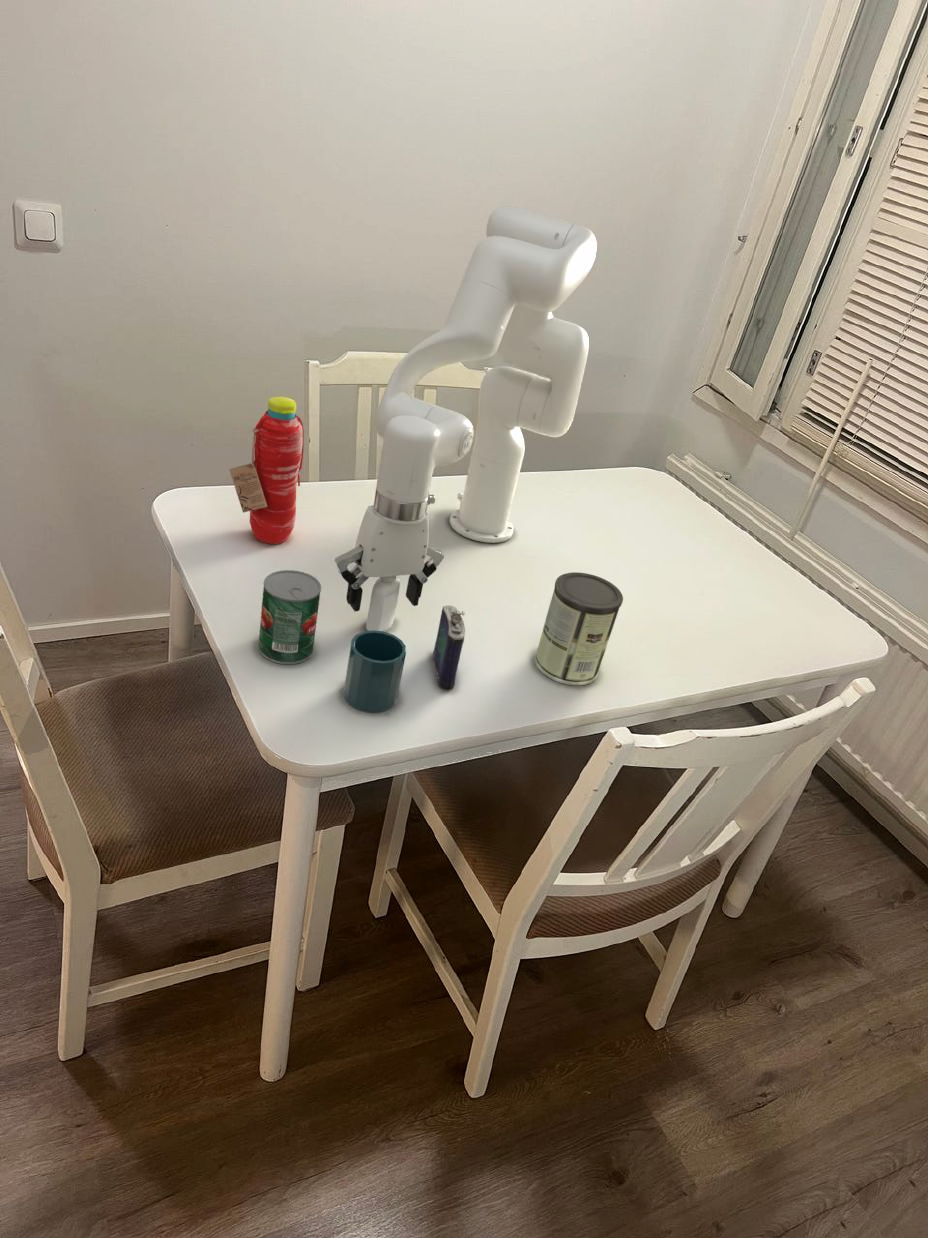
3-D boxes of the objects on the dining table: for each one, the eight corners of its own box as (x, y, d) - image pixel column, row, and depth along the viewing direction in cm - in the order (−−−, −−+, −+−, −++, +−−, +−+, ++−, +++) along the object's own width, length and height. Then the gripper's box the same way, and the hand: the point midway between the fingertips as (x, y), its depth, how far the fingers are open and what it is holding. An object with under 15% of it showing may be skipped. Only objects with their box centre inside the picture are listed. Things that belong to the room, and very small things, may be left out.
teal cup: (336, 683, 125) (343, 633, 120) (384, 676, 128) (393, 627, 124) (354, 716, 120) (363, 666, 115) (404, 708, 123) (414, 659, 119)
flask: (431, 652, 136) (443, 593, 130) (449, 653, 136) (463, 594, 130) (437, 690, 128) (451, 629, 122) (457, 691, 129) (472, 630, 123)
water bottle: (241, 554, 149) (250, 411, 136) (220, 532, 154) (228, 392, 140) (305, 544, 156) (320, 407, 143) (284, 523, 161) (296, 389, 147)
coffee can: (561, 639, 146) (583, 565, 138) (610, 672, 140) (636, 597, 133) (520, 658, 139) (541, 581, 131) (570, 694, 133) (595, 616, 126)
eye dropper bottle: (402, 629, 139) (414, 563, 133) (371, 636, 136) (382, 569, 130) (387, 614, 142) (398, 549, 136) (357, 621, 139) (367, 554, 132)
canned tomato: (250, 637, 130) (255, 572, 124) (301, 629, 134) (309, 566, 128) (268, 668, 125) (274, 603, 119) (321, 660, 129) (329, 596, 123)
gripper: (442, 490, 134) (423, 586, 143) (334, 493, 126) (321, 595, 135) (464, 513, 129) (443, 612, 138) (353, 518, 121) (338, 622, 130)
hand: (382, 603), depth 137 cm, fingers open, 9 cm apart
